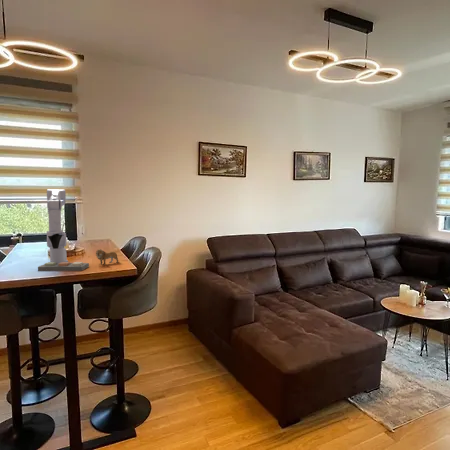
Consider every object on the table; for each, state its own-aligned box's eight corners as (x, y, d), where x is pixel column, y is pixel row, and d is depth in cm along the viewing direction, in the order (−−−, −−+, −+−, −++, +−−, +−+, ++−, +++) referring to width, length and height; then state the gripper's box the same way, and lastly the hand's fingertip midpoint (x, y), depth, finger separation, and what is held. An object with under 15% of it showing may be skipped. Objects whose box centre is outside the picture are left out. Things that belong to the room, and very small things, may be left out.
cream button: (75, 266, 179) (75, 262, 179) (83, 266, 179) (83, 262, 179) (72, 268, 175) (72, 263, 175) (80, 268, 175) (80, 263, 175)
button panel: (47, 266, 181) (47, 263, 181) (88, 266, 182) (88, 263, 182) (38, 270, 171) (37, 266, 171) (82, 270, 172) (82, 266, 172)
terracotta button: (62, 266, 178) (61, 262, 178) (69, 266, 179) (69, 262, 178) (58, 268, 174) (58, 263, 174) (66, 268, 175) (66, 263, 174)
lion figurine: (99, 266, 183) (99, 250, 183) (93, 265, 186) (93, 249, 186) (121, 262, 196) (121, 247, 195) (115, 261, 199) (115, 246, 198)
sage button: (48, 266, 178) (48, 262, 178) (56, 266, 178) (56, 262, 178) (44, 268, 174) (44, 263, 174) (52, 268, 174) (52, 263, 174)
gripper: (53, 222, 183) (54, 247, 184) (40, 223, 169) (41, 250, 170) (66, 222, 184) (67, 246, 184) (54, 223, 169) (55, 250, 170)
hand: (55, 248), depth 177 cm, fingers closed
